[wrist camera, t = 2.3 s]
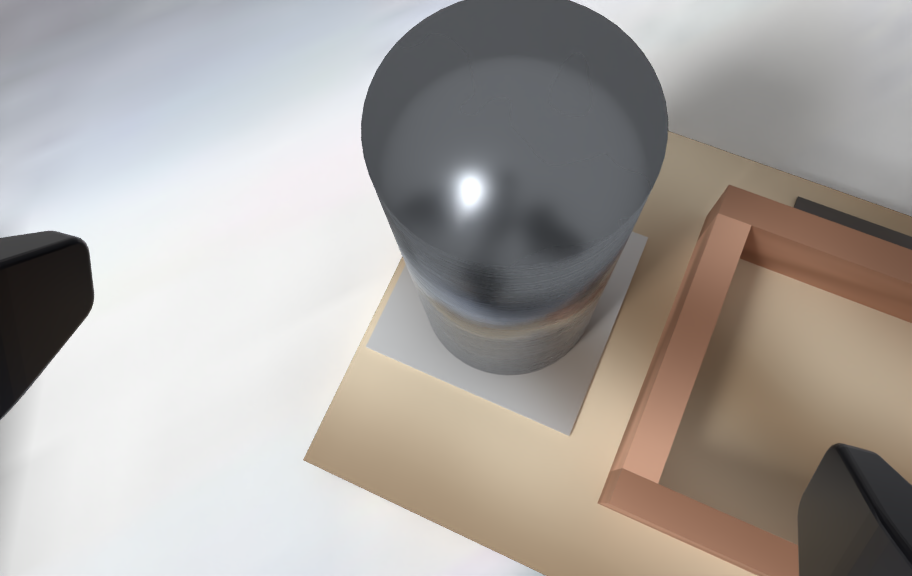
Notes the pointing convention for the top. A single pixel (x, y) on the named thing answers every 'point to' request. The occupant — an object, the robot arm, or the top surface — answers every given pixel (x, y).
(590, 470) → the wooden board with frame
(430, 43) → the dark grey cylinder
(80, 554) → the top surface
